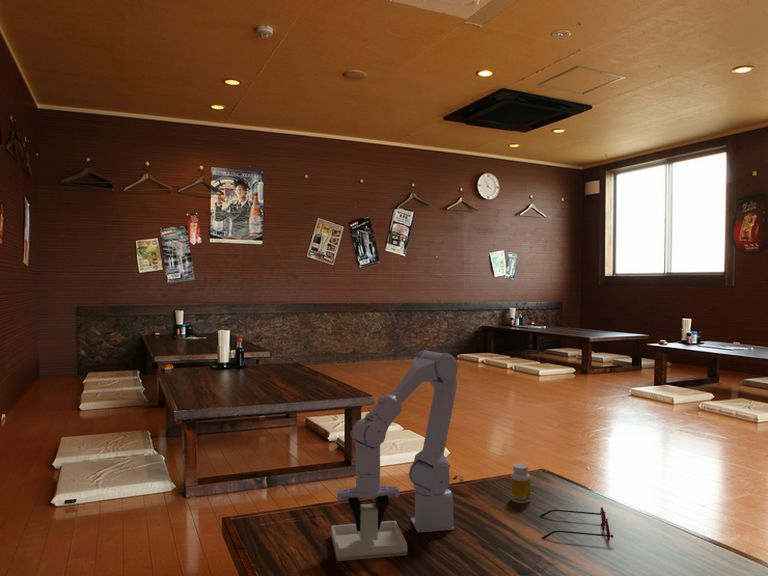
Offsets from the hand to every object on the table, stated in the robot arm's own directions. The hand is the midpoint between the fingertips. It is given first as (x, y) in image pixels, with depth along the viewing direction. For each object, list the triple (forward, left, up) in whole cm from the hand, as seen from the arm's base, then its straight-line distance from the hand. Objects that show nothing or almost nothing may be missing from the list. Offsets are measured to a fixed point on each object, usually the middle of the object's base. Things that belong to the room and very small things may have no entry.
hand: (368, 528), depth 136 cm
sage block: (0, 0, -2) cm, 2 cm away
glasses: (-52, +1, -5) cm, 52 cm away
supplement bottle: (-47, -20, -4) cm, 51 cm away
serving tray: (0, 0, -4) cm, 4 cm away
